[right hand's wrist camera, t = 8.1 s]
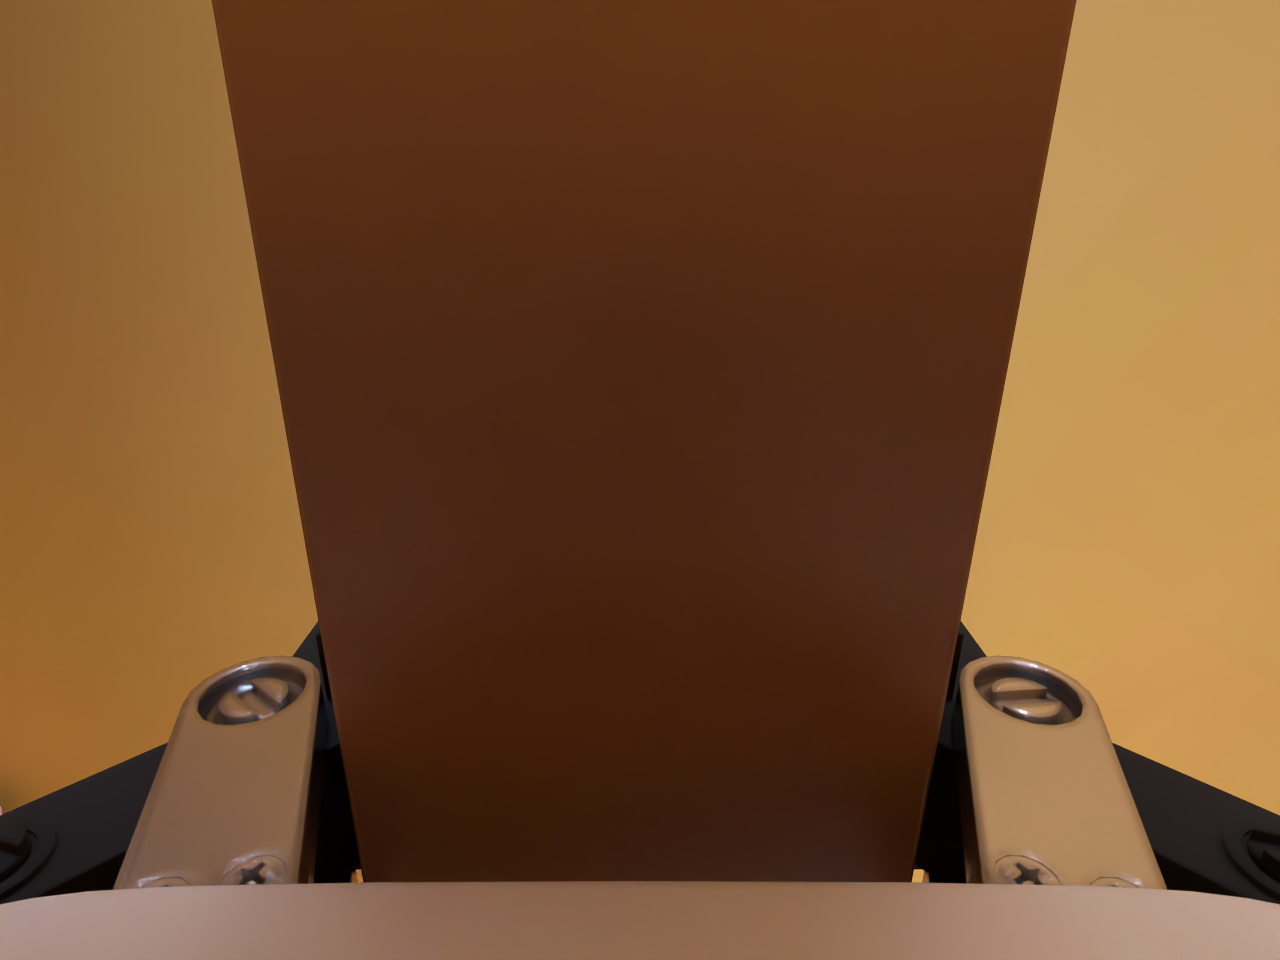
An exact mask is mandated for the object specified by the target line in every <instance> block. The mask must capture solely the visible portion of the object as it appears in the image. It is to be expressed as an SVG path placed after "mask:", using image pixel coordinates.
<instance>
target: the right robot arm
mask: <svg viewBox="0 0 1280 960" xmlns="http://www.w3.org/2000/svg"><path fill="white" fill-rule="evenodd" d="M357 869H361V865H360V859H359V853H358V847H357V841H356V836H355V830H354V824H353V818H352V812H351V807H350V801H349V795H348V789H347V783H346V777H345V772H344V766H343V760H342V754H341V748H340V743H339V737H338V731H337V725H336V719H335V714H334V708H333V702H332V696H331V690H330V684H329V679H328V673H327V667H326V661H325V655H324V650H323V644H322V638H321V632H320V626H319V621H318V622H317V624H316V625H315V626H314V628H313V629H312V630H311V632H310V633H309V635H308V636H307V637H306V639H305V640H304V641H303V643H302V644H301V645H300V647H299V648H298V650H297V651H296V652H295V654H294V655H293V656H292V657H289V656H272V657H261V658H257V659H253V660H249V661H244V662H241V663H238V664H236V665H233V666H230V667H228V668H225V669H223V670H221V671H219V672H217V673H215V674H214V675H212V676H210V677H209V678H207V679H205V680H204V681H202V682H201V683H200V684H199V685H198V686H197V687H196V688H194V689H193V690H192V691H191V692H190V693H189V695H188V696H187V698H186V700H185V701H184V703H183V704H182V707H181V709H180V712H179V715H178V717H177V720H176V723H175V725H174V728H173V731H172V733H171V736H170V739H169V741H168V743H165V744H163V745H161V746H159V747H156V748H154V749H152V750H149V751H147V752H145V753H142V754H140V755H138V756H136V757H133V758H131V759H129V760H126V761H124V762H122V763H120V764H117V765H115V766H113V767H110V768H108V769H106V770H103V771H101V772H99V773H97V774H94V775H92V776H90V777H87V778H85V779H83V780H80V781H78V782H76V783H74V784H71V785H69V786H67V787H64V788H62V789H60V790H58V791H55V792H53V793H51V794H48V795H46V796H44V797H41V798H39V799H37V800H35V801H32V802H30V803H28V804H25V805H23V806H21V807H19V808H16V809H14V810H12V811H9V812H7V813H5V814H2V815H0V960H1280V816H1279V815H1277V814H1275V813H1272V812H1270V811H1268V810H1266V809H1263V808H1261V807H1259V806H1256V805H1254V804H1252V803H1249V802H1247V801H1245V800H1243V799H1240V798H1238V797H1236V796H1233V795H1231V794H1229V793H1227V792H1224V791H1222V790H1220V789H1217V788H1215V787H1213V786H1210V785H1208V784H1206V783H1204V782H1201V781H1199V780H1197V779H1194V778H1192V777H1190V776H1187V775H1185V774H1183V773H1181V772H1178V771H1176V770H1174V769H1171V768H1169V767H1167V766H1164V765H1162V764H1160V763H1158V762H1155V761H1153V760H1151V759H1148V758H1146V757H1144V756H1141V755H1139V754H1137V753H1135V752H1132V751H1130V750H1128V749H1125V748H1123V747H1121V746H1119V745H1116V744H1114V743H1112V741H1111V739H1110V736H1109V733H1108V731H1107V728H1106V725H1105V723H1104V720H1103V717H1102V715H1101V712H1100V709H1099V707H1098V704H1097V703H1096V701H1095V700H1094V698H1093V696H1092V695H1091V693H1090V692H1089V691H1088V690H1087V689H1086V688H1084V687H1083V686H1082V685H1081V684H1080V683H1079V682H1078V681H1076V680H1075V679H1073V678H1071V677H1070V676H1068V675H1066V674H1065V673H1063V672H1061V671H1059V670H1057V669H1055V668H1052V667H1050V666H1047V665H1044V664H1042V663H1039V662H1036V661H1031V660H1027V659H1023V658H1019V657H1008V656H991V657H987V656H986V655H985V653H984V652H983V651H982V649H981V648H980V647H979V645H978V644H977V643H976V641H975V640H974V638H973V637H972V636H971V634H970V633H969V632H968V630H967V629H966V628H965V626H964V625H963V623H962V622H961V621H960V625H959V630H958V636H957V641H956V646H955V652H954V657H953V663H952V668H951V673H950V679H949V684H948V689H947V695H946V700H945V705H944V711H943V716H942V721H941V727H940V732H939V737H938V743H937V748H936V753H935V759H934V764H933V769H932V775H931V780H930V786H929V791H928V796H927V802H926V807H925V812H924V818H923V823H922V828H921V834H920V839H919V844H918V850H917V855H916V860H915V866H914V869H923V870H924V875H923V881H922V883H909V882H715V881H565V882H371V883H358V881H357V875H356V870H357Z"/></svg>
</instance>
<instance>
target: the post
mask: <svg viewBox="0 0 1280 960" xmlns="http://www.w3.org/2000/svg"><path fill="white" fill-rule="evenodd" d="M212 4H213V10H214V16H215V22H216V28H217V33H218V39H219V45H220V51H221V57H222V63H223V68H224V74H225V80H226V86H227V92H228V97H229V103H230V109H231V115H232V121H233V126H234V132H235V138H236V144H237V150H238V156H239V161H240V167H241V173H242V179H243V185H244V190H245V196H246V202H247V208H248V214H249V219H250V225H251V231H252V237H253V243H254V249H255V254H256V260H257V266H258V272H259V278H260V283H261V289H262V295H263V301H264V307H265V312H266V318H267V324H268V330H269V336H270V342H271V347H272V353H273V359H274V365H275V371H276V376H277V382H278V388H279V394H280V400H281V405H282V411H283V417H284V423H285V429H286V435H287V440H288V446H289V452H290V458H291V464H292V469H293V475H294V481H295V487H296V493H297V498H298V504H299V510H300V516H301V522H302V528H303V533H304V539H305V545H306V551H307V557H308V562H309V568H310V574H311V580H312V586H313V591H314V597H315V603H316V609H317V615H318V621H319V626H320V632H321V638H322V644H323V650H324V655H325V661H326V667H327V673H328V679H329V684H330V690H331V696H332V702H333V708H334V714H335V719H336V725H337V731H338V737H339V743H340V748H341V754H342V760H343V766H344V772H345V777H346V783H347V789H348V795H349V801H350V807H351V812H352V818H353V824H354V830H355V836H356V841H357V847H358V853H359V859H360V865H361V870H362V876H363V882H364V883H371V882H565V881H715V882H909V883H911V882H912V876H913V871H914V866H915V860H916V855H917V850H918V844H919V839H920V834H921V828H922V823H923V818H924V812H925V807H926V802H927V796H928V791H929V786H930V780H931V775H932V769H933V764H934V759H935V753H936V748H937V743H938V737H939V732H940V727H941V721H942V716H943V711H944V705H945V700H946V695H947V689H948V684H949V679H950V673H951V668H952V663H953V657H954V652H955V646H956V641H957V636H958V630H959V625H960V620H961V614H962V609H963V604H964V598H965V593H966V588H967V582H968V577H969V572H970V566H971V561H972V556H973V550H974V545H975V539H976V534H977V529H978V523H979V518H980V513H981V507H982V502H983V497H984V491H985V486H986V481H987V475H988V470H989V465H990V459H991V454H992V449H993V443H994V438H995V432H996V427H997V422H998V416H999V411H1000V406H1001V400H1002V395H1003V390H1004V384H1005V379H1006V374H1007V368H1008V363H1009V358H1010V352H1011V347H1012V342H1013V336H1014V331H1015V325H1016V320H1017V315H1018V309H1019V304H1020V299H1021V293H1022V288H1023V283H1024V277H1025V272H1026V267H1027V261H1028V256H1029V251H1030V245H1031V240H1032V235H1033V229H1034V224H1035V219H1036V213H1037V208H1038V202H1039V197H1040V192H1041V186H1042V181H1043V176H1044V170H1045V165H1046V160H1047V154H1048V149H1049V144H1050V138H1051V133H1052V128H1053V122H1054V117H1055V112H1056V106H1057V101H1058V95H1059V90H1060V85H1061V79H1062V74H1063V69H1064V63H1065V58H1066V53H1067V47H1068V42H1069V37H1070V31H1071V26H1072V21H1073V15H1074V10H1075V5H1076V0H212Z"/></svg>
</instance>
